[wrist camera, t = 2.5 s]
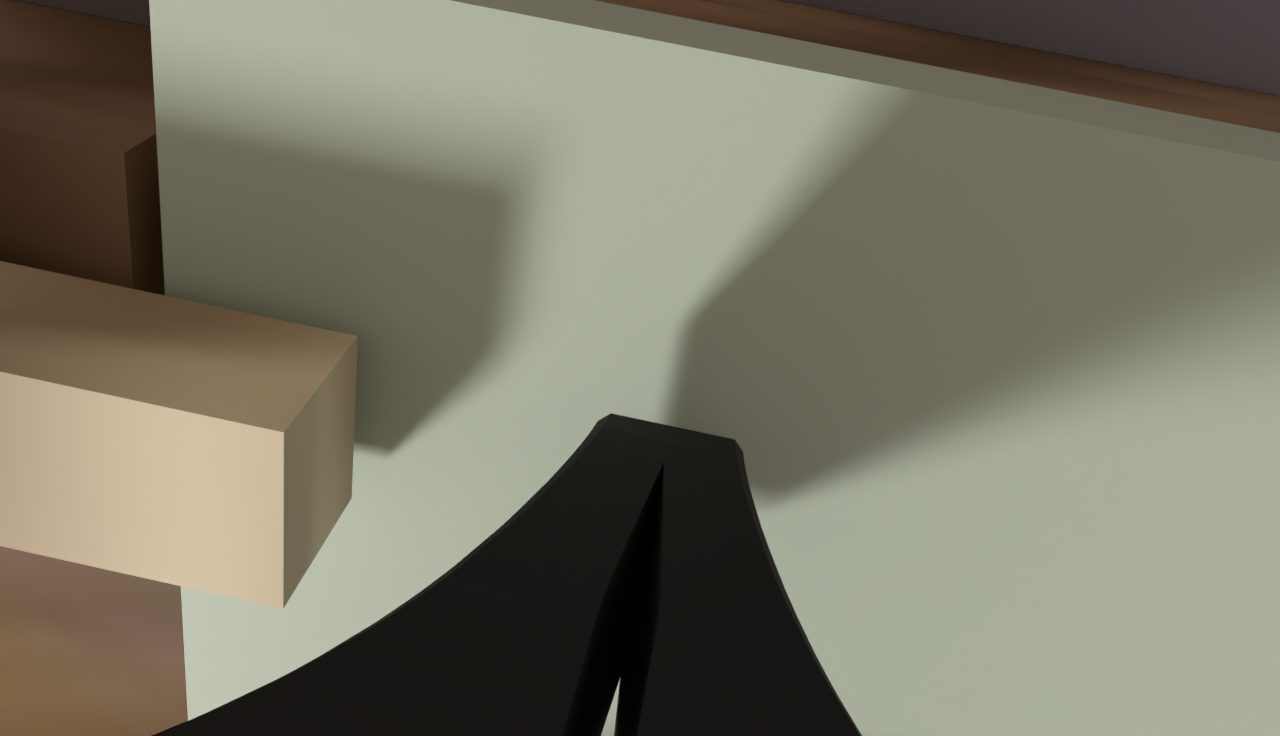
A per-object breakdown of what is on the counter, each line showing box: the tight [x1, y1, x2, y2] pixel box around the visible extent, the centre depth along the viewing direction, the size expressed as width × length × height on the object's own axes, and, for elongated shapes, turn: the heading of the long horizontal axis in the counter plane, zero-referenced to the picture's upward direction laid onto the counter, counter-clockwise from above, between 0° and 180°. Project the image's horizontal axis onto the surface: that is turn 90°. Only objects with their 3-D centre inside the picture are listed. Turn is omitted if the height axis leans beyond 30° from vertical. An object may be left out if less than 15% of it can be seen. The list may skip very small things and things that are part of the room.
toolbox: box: [0, 0, 1280, 295], centre depth 16 cm, size 18×18×6 cm
